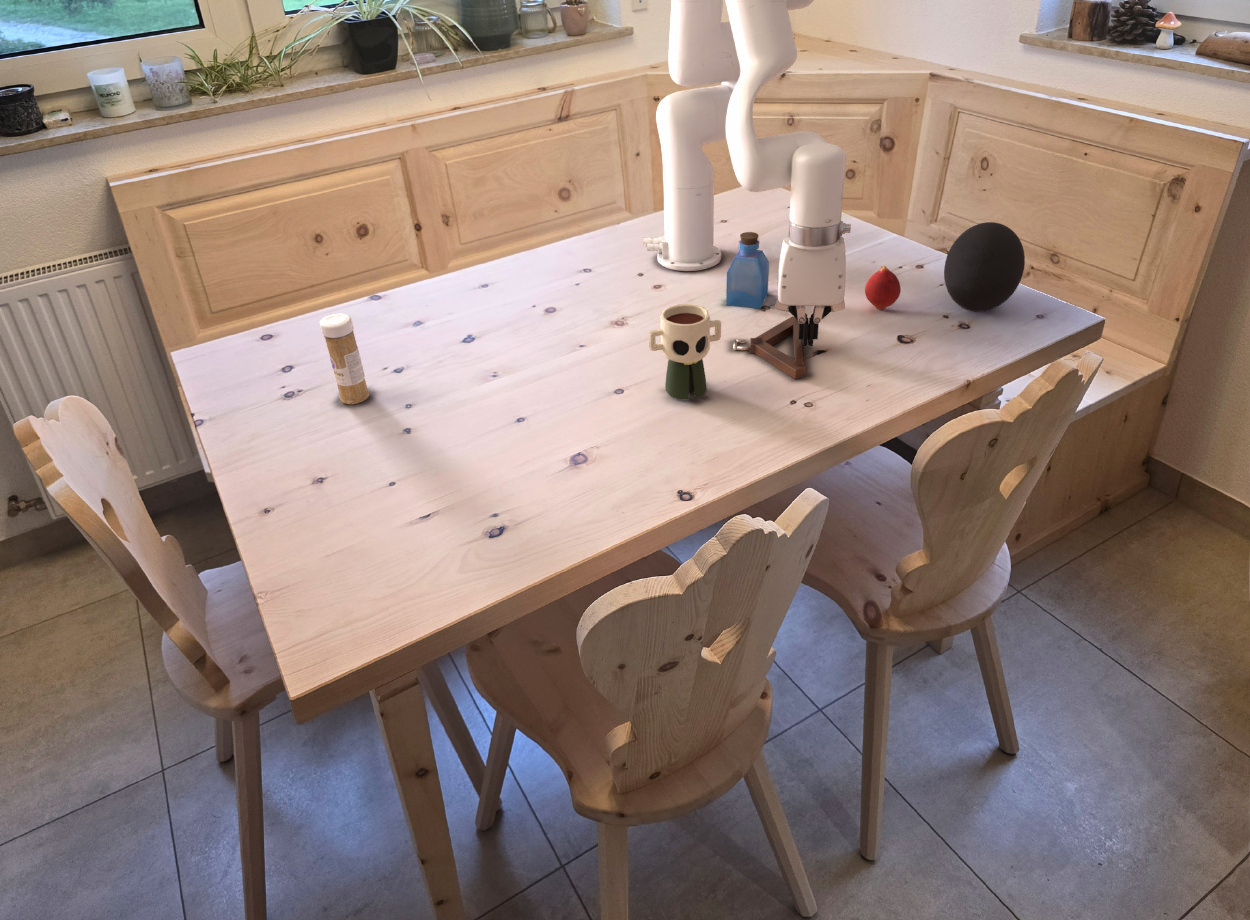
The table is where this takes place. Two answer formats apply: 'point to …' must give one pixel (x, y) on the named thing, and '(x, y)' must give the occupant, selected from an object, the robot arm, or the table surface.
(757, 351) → the hanger
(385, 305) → the table surface
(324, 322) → the sprinkles bottle
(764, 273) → the perfume bottle
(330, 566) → the table surface
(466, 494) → the table surface
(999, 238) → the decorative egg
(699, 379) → the character mug
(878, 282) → the onion
